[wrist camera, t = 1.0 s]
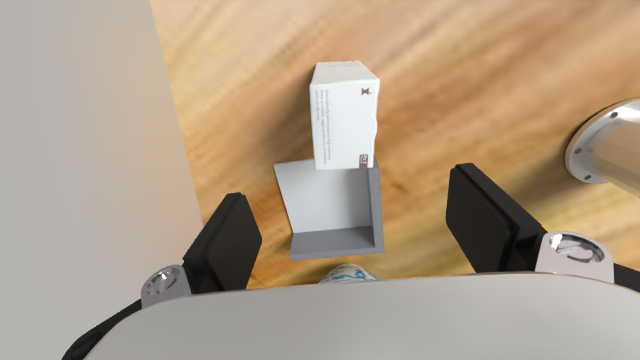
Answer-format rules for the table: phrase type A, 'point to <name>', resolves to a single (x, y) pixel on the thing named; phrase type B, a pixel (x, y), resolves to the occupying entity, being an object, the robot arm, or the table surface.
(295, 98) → the table surface
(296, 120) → the table surface
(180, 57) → the table surface
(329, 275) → the chinaware
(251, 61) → the table surface
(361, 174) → the corner jig
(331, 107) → the skincare box
